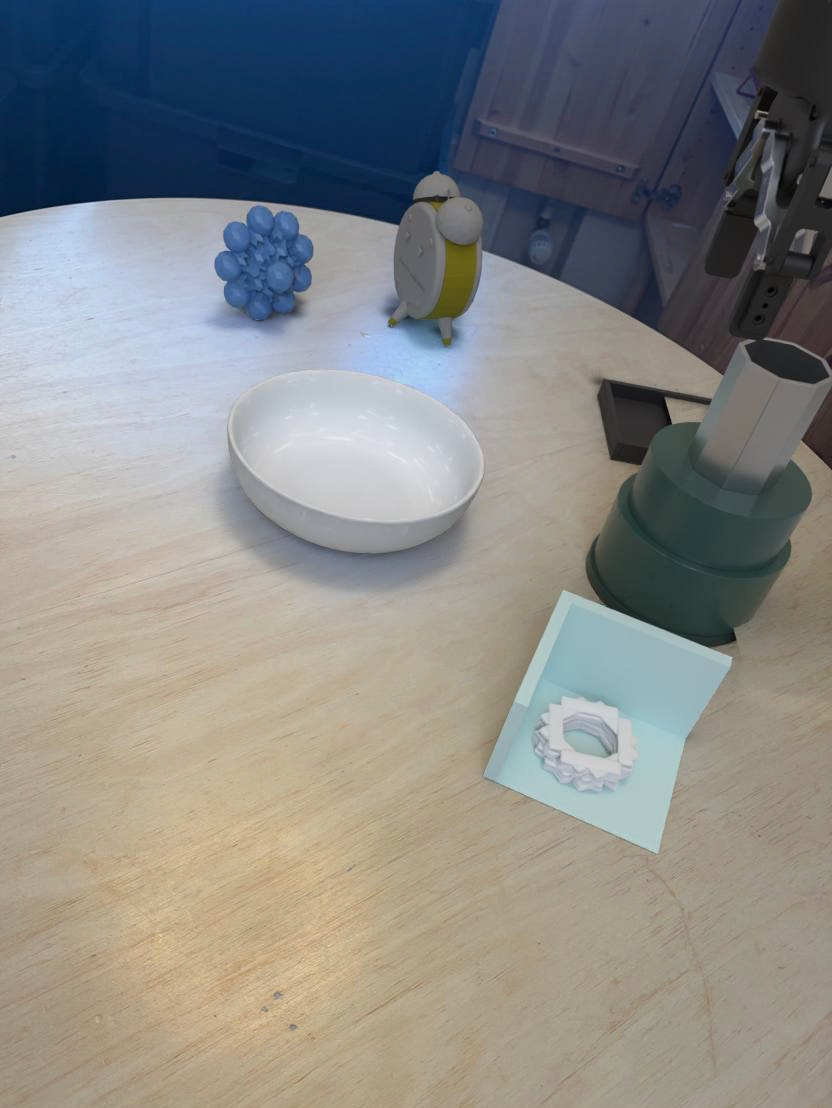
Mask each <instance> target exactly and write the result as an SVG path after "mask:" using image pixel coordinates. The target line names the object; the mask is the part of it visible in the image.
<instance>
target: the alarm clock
mask: <svg viewBox="0 0 832 1108" xmlns="http://www.w3.org/2000/svg"><path fill="white" fill-rule="evenodd" d="M412 195H413V196H412V201H413V202H414V203H413V204H412V205H410V206H409V207H408V209H407V210H406V211H405V212H404V214H403V216H402V218H401V220H400V223H399V225H398V228H397V232H396V236H395V240H394V241H395V242H394V246H393V248H394V249H393V280H394V287H395V291H396V295H397V298H398V301H399V303H400V304H399V306H398V307H397V308H396V309H395V311H394V312H393V314H392V315H391V316H390V318H389V319H388V321H387V324H388V325H389V326H390V325H393V326H395V325H396V324H398V323H399V322H401V321H402V320H404V319H405V318H407V317H408V316H409V317H410V318H412V319H416V320H421V321H423V320H424V321H425V320H426V321H427V320H430V321H431V320H436V321H437V324H438V328H439V331H440V336H441V339H442V343H443V346H444V347H450V346H451V344H452V334H453V333H452V332H453V331H452V330H453V320H454V319H458V318H460V317H462V316H463V315H464V314H465V313H467V311H468V310H469V308H470V307H471V305H472V304H473V302H474V300H475V298H476V296H477V292H478V290H479V286H480V281H481V276H482V269H483V239H482V235H481V234H482V232H483V228H484V227H483V226H484V219H483V213H482V210H481V209H480V207H479V205H477V203H475V202H474V200H472V199H470V198H467V197H463V196H461V192H460V188H459V187H458V185H457V183H456V181H454V179H452V178H451V177H450V176H448V175H446V174H443V173H441V172H440V171H439V170H435V171H433V173H432V174H429V175H426V176H425V177H423V178H422V179H421V180H419V183H417V185H416V187H415V189H414V192H413V194H412Z"/></svg>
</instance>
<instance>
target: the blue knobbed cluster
mask: <svg viewBox="0 0 832 1108" xmlns="http://www.w3.org/2000/svg"><path fill="white" fill-rule="evenodd" d="M222 231H223V232H222V240H223V241H224V245H225V247H226V249H228V250H223V251H220V252H219V253H218V254H217V256H216V257H215V258H214V262H213V267H214V270H215V273H216V276H217V277H218V278H219V279H220V280H222V281H224V282H226V283H225V284H224V286H223V298H224V299H225V302H226V303H227V305H229V307H231V308H235V309H241V308H245V310H246V313H247V315H248V316H249V317H250V318H251V317H252V318H251V319H253V320H255V319H258V320H257V321H264V320H266V318H267V319H268V318H269V317H270V315H271V314H272V312H273V311H274V312H275V313H277V314H281V315H286V314H289V313H291V312H292V311H293V310H294V309H295V307H296V299H297V298H296V295H295V293H303V292H307V291H308V290H309V289H310V287H311V285H312V278H313V274H312V272H311V269H310V268H309V267H308V266H307V265H306V264H308V263H310V261H312V259H313V257H314V244H313V242H312V240H311V238H309V237H308V236H307V235H305V234H301V233H300V223H299V220H298V217H297V216H296V215H295V214H294V213H292V211H286V210H281V211H278V212H276V214H275V215H274V213H273V212H272V211H271V210H270V209H269V208H268V207H267V206H264V205H259V204H257V205H254V206H252V207H251V208H250V209H249V211H248V212H247V214H246V219H245V223H244V222H241V221H236V220H234V221H231V222H228V223H227V225H226V226H225V227H224V229H223V230H222ZM272 310H273V311H272ZM263 319H264V320H263Z"/></svg>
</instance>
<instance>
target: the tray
mask: <svg viewBox="0 0 832 1108" xmlns="http://www.w3.org/2000/svg"><path fill="white" fill-rule="evenodd" d="M666 398H669V399H674V400H679V401H684V402H690V403H696V404H701V405H705V406H709V405H710V403H711V401H712V399H713V398H709V397H705V396H704V397H703V396H700V395H694V394H688V393H683V392H682V393H681V392H677V391H672V390H666V389H661V388H656V387H651V386H646V385H640V384H637V383H636V384H635V383H630V382H625V381H620V380H614V379H609V378H603V380H602V382H601V385H600V387H599V390H598V392H597V399H598V405H599V409H600V415H601V419H602V423H603V429H604V434H605V438H606V444H607V448H608V453H609V459H610V460H613V461H618V462H624V463H629V464H634V465H639V466H641V464H642V462H643V460H644V458H645V455H646V453H647V451H648V449H649V446H650V444H651V442H652V439H653V437H654V436H655V435H656V433H657V432H659V431H660V430H661V429H663V428H665V427H666V426H669V425H672V424H673V421H672V418H671V414H670V411H669V408H668V404H667V401H666Z"/></svg>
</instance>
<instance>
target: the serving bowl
mask: <svg viewBox="0 0 832 1108" xmlns="http://www.w3.org/2000/svg"><path fill="white" fill-rule="evenodd" d="M226 434H227V447H228V453H229V458H230V463H231V466H232V469H233V472H234V475H235V477H236V479H237V481H238V483H239V485H240V487H241V489H242V490H243V491H244V493H245V495H246V496H247V497H248V499H249V500H250V501H251V502H252V504H253V505H254V506H255V507H256V508H257V509H258V510H259V511H260V512H261V513H262V514H263V515H264V516H265V517H267V518H268V519H269V520H270V521H272V522H273V523H274V524H275V525H277V526H278V527H280V528H282V529H283V530H284V531H286V532H288V533H290V534H292V535H294V536H296V537H297V538H299V539H302V540H305V541H307V542H309V543H312V544H315V545H317V546H321V547H323V548H327V549H332V550H336V551H342V552H347V553H355V554H356V553H357V554H385V553H392V552H398V551H399V552H400V551H403V550H406V549H407V550H408V549H411V548H414V547H417V546H419V545H422V544H425V543H427V542H429V541H431V540H433V539H435V538H437V537H439V536H440V535H441V534H443V533H444V532H446V531H447V530H449V529H450V528H451V527H452V526H453V525H454V524H455V523H456V522H457V521H459V520H460V518H461V517H462V516H463V515H464V514H465V512H466V511H467V510H468V508H469V507H470V506H471V504H472V502H473V500H474V499H475V496H476V495H477V493H478V491H479V490H480V487H481V485H482V482H483V480H484V478H485V472H486V461H485V455H484V450H483V448H482V445H481V444H480V441H479V440H478V438H477V436H476V435H475V434H474V432H473V430H472V429H471V427H470V426H469V425H468V424H467V423H466V422H465V421H464V420H463V419H462V418H461V417H460V416H459V415H457V414H456V413H455V412H454V411H453V410H452V409H450V407H448V406H447V405H445V404H443V402H440V401H439V400H437V399H436V398H434V397H432V396H431V395H429V394H427V393H425V392H423V391H420V390H419V389H417V388H415V387H412V386H409V385H407V384H405V383H401V382H399V381H397V380H393V379H389V378H386V377H383V376H381V375H380V376H379V375H375V374H371V373H366V372H360V371H353V370H345V369H328V368H327V369H326V368H319V369H318V368H317V369H316V368H315V369H303V370H296V371H289V372H285V373H281V374H277V375H275V376H271V377H269V378H266V379H263V380H261V381H260V382H258V383H256V384H254V385H252V386H251V387H250V388H248V389H246V390H245V391H244V392H242V394H241V395H240V396H238V398H237V399H236V400H235V402H234V403H233V405H232V407H231V409H230V411H229V413H228V416H227V424H226Z"/></svg>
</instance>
